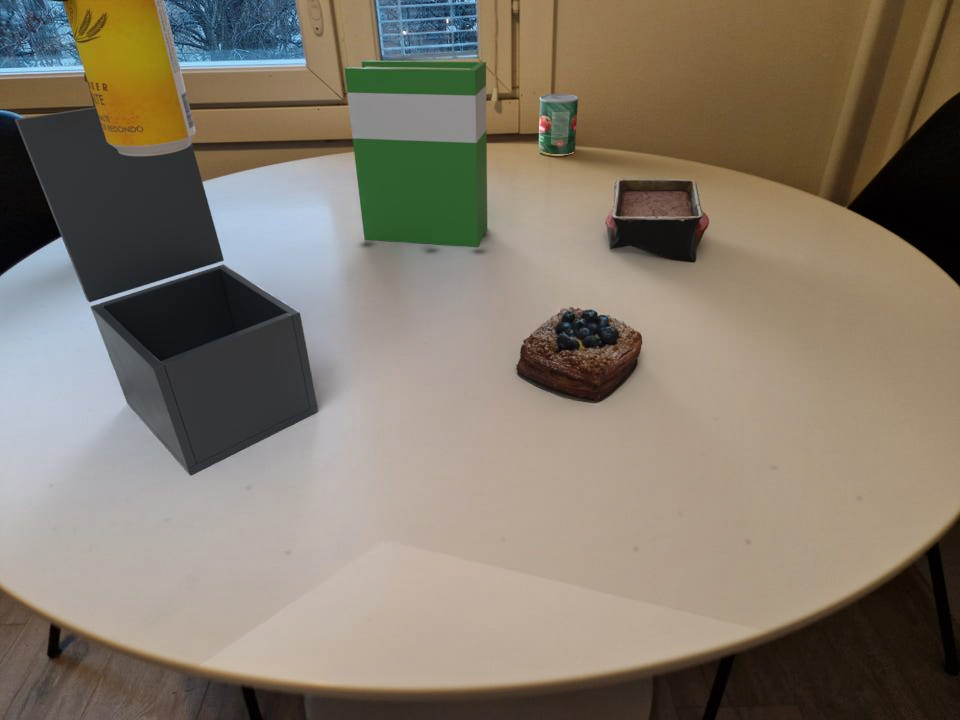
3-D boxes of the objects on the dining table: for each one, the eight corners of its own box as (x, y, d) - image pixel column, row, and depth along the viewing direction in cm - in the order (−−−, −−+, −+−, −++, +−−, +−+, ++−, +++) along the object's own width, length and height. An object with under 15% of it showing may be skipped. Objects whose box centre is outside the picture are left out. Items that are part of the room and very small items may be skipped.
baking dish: (593, 270, 93) (603, 208, 86) (611, 210, 105) (621, 152, 98) (696, 289, 90) (715, 225, 83) (702, 225, 102) (718, 165, 96)
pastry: (504, 377, 66) (504, 327, 63) (558, 328, 75) (561, 282, 72) (602, 412, 61) (608, 360, 58) (649, 355, 70) (657, 306, 66)
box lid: (178, 95, 57) (155, 92, 61) (16, 119, 50) (1, 114, 53) (224, 260, 65) (201, 249, 68) (89, 302, 57) (71, 287, 61)
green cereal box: (364, 239, 98) (344, 68, 86) (380, 222, 105) (363, 60, 92) (478, 246, 95) (475, 70, 83) (487, 228, 102) (485, 62, 89)
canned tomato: (582, 153, 138) (586, 98, 132) (552, 158, 134) (554, 102, 128) (560, 145, 143) (563, 92, 137) (530, 150, 140) (532, 96, 134)
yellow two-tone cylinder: (114, 141, 50) (40, -96, 42) (198, 134, 52) (143, -96, 44) (106, 162, 45) (21, -102, 37) (198, 152, 47) (137, -101, 39)
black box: (318, 411, 62) (300, 312, 56) (190, 475, 55) (153, 369, 49) (246, 354, 71) (223, 264, 65) (127, 403, 64) (89, 306, 58)
